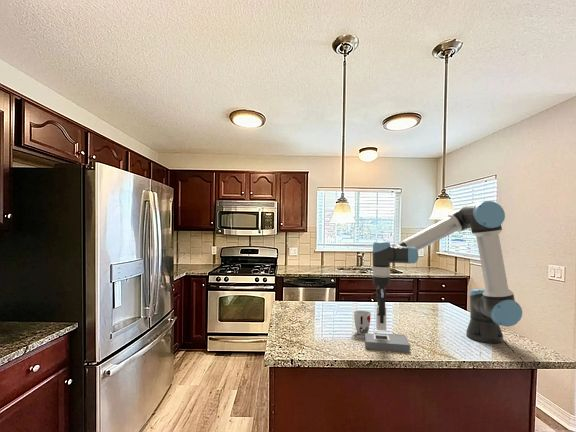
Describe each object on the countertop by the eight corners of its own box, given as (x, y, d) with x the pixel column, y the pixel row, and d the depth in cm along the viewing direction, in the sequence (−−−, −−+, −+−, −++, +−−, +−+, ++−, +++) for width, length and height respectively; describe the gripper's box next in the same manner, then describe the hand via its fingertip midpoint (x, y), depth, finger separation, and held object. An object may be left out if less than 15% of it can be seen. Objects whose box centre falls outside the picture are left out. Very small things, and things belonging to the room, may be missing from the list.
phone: (404, 337, 159) (404, 334, 159) (407, 342, 152) (407, 339, 152) (374, 335, 162) (374, 332, 162) (375, 340, 155) (375, 337, 155)
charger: (385, 328, 149) (385, 305, 149) (386, 330, 145) (386, 307, 145) (376, 327, 150) (376, 305, 150) (376, 330, 146) (376, 307, 146)
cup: (358, 336, 158) (358, 315, 159) (351, 331, 166) (351, 311, 167) (373, 334, 160) (373, 314, 161) (365, 329, 168) (365, 310, 169)
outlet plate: (405, 342, 150) (405, 335, 150) (409, 352, 138) (409, 344, 138) (365, 339, 153) (364, 332, 153) (365, 348, 142) (365, 341, 142)
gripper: (371, 273, 157) (371, 322, 156) (373, 278, 141) (373, 333, 140) (388, 273, 156) (387, 323, 155) (392, 279, 139) (391, 335, 138)
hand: (381, 328), depth 147 cm, fingers closed on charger, 4 cm apart
